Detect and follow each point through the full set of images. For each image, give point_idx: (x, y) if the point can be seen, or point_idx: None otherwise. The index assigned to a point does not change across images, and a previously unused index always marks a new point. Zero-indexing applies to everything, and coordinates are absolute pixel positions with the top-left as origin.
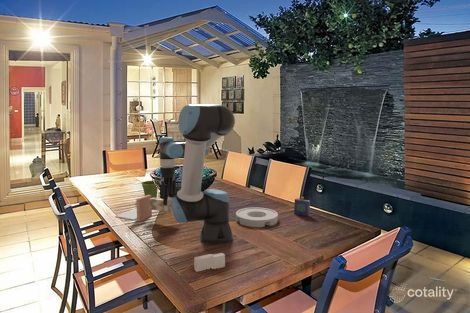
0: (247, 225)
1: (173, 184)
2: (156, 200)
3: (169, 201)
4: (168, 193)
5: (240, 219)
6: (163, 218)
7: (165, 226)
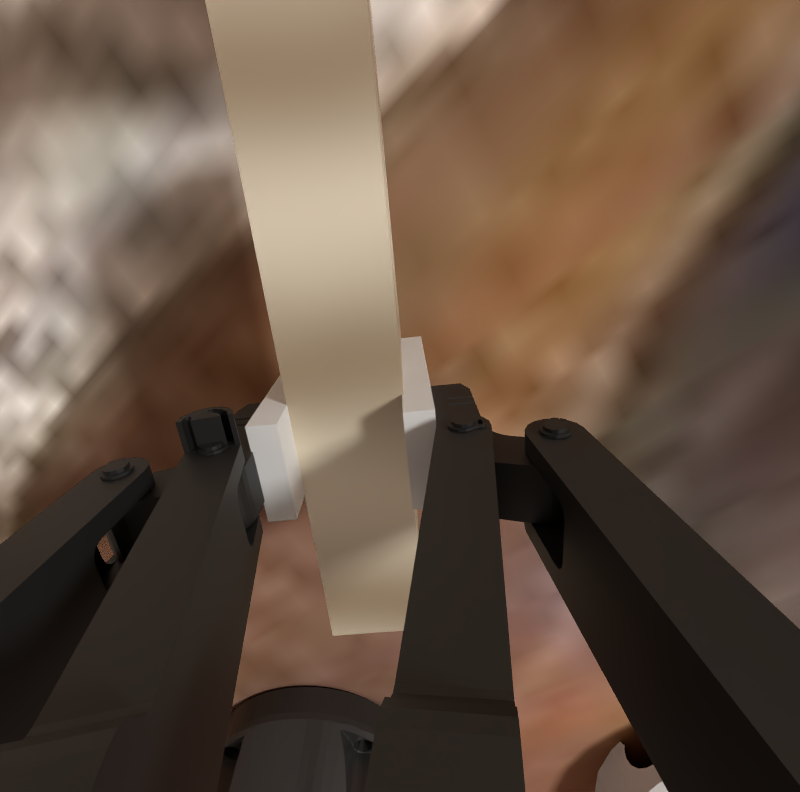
0: (598, 784)
1: (686, 779)
2: (246, 181)
3: (307, 507)
4: (431, 461)
5: (630, 781)
6: (451, 175)
7: (269, 376)
